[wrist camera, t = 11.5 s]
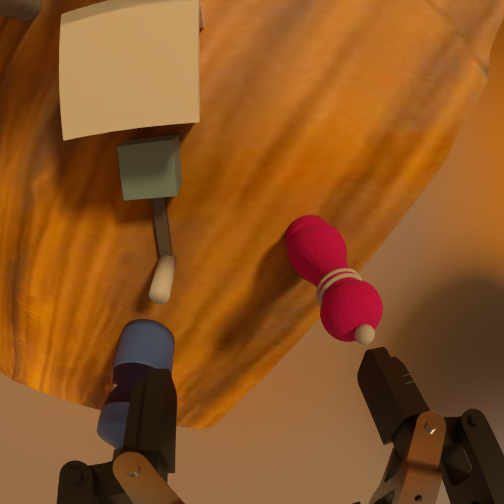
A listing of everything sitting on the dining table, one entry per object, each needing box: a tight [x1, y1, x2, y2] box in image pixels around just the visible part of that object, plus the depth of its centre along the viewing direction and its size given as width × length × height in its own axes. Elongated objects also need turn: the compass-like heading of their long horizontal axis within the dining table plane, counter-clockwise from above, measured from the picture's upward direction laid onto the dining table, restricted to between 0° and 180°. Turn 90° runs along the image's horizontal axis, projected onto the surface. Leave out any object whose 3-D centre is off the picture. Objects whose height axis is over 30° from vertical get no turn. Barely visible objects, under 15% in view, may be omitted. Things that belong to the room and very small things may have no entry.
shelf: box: [59, 0, 204, 141], centre depth 23 cm, size 12×12×11 cm
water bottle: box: [97, 319, 175, 460], centre depth 36 cm, size 9×9×25 cm
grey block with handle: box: [117, 134, 182, 304], centre depth 33 cm, size 18×6×8 cm, turn 0°
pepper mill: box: [285, 215, 383, 345], centre depth 32 cm, size 7×7×20 cm
